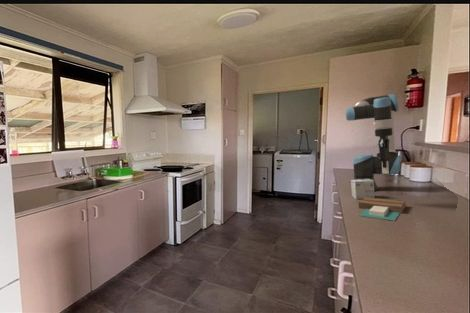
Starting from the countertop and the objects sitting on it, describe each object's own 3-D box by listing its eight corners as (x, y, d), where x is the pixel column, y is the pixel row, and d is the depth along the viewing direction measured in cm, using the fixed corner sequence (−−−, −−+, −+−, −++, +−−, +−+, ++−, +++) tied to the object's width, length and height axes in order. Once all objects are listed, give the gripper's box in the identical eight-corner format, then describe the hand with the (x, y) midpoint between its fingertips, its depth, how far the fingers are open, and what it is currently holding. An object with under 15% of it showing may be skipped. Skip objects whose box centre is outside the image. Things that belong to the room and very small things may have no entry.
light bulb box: (369, 195, 141) (368, 178, 140) (375, 198, 134) (374, 180, 134) (351, 196, 142) (350, 179, 141) (356, 199, 135) (354, 181, 135)
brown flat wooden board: (365, 202, 128) (365, 197, 128) (405, 206, 116) (405, 200, 115) (358, 208, 120) (358, 202, 119) (401, 213, 107) (401, 207, 107)
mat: (366, 209, 117) (366, 208, 117) (399, 213, 107) (399, 212, 107) (358, 215, 108) (358, 215, 108) (394, 221, 99) (394, 220, 99)
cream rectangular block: (374, 209, 114) (374, 205, 114) (388, 211, 110) (388, 207, 110) (369, 214, 108) (369, 210, 108) (384, 216, 104) (384, 212, 104)
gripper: (378, 128, 126) (380, 170, 129) (371, 129, 117) (374, 175, 119) (394, 126, 121) (396, 171, 123) (389, 128, 112) (391, 176, 114)
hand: (385, 173), depth 121 cm, fingers closed
